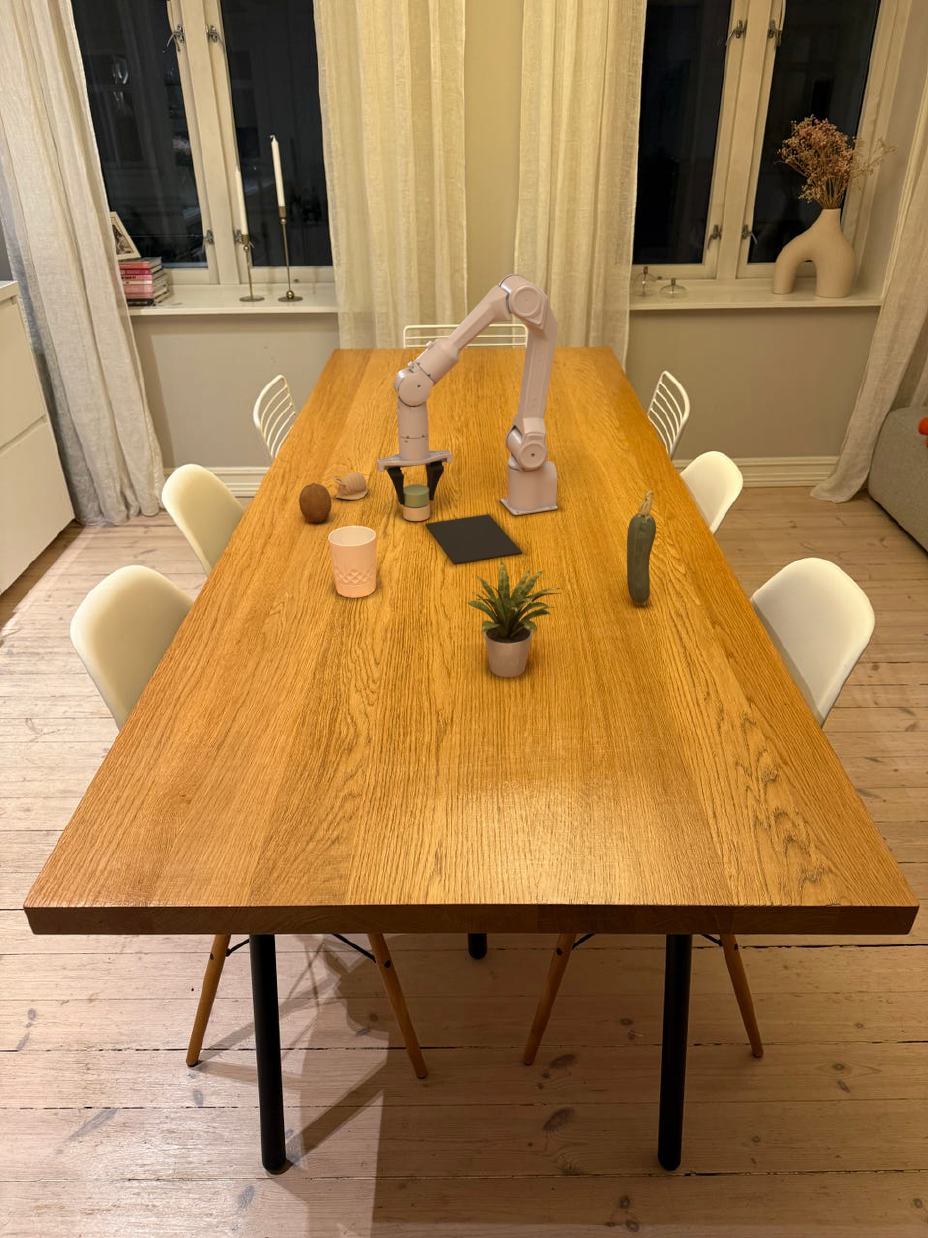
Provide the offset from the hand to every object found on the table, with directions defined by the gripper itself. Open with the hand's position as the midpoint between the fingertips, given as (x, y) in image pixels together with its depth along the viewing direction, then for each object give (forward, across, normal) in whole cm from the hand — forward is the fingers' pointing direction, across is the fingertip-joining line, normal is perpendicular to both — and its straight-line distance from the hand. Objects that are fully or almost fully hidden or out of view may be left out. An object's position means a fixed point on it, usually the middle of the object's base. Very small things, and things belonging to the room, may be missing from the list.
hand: (416, 500), depth 187 cm
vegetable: (+4, -24, +46) cm, 52 cm away
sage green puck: (0, 0, 0) cm, 0 cm away
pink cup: (+4, +18, +26) cm, 31 cm away
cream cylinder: (+3, 0, 0) cm, 3 cm away
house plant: (+4, +3, +58) cm, 59 cm away
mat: (+3, -7, +14) cm, 16 cm away
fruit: (+4, +19, -4) cm, 20 cm away
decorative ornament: (+4, +10, -14) cm, 18 cm away
